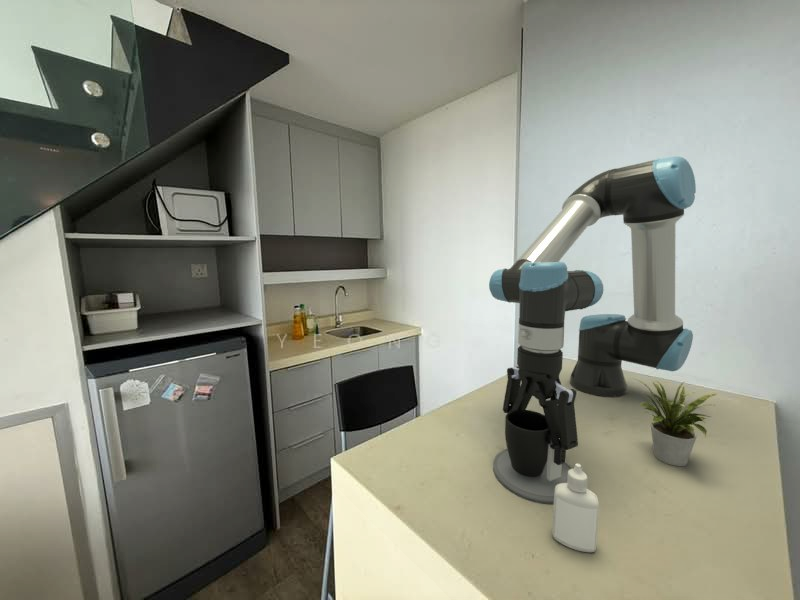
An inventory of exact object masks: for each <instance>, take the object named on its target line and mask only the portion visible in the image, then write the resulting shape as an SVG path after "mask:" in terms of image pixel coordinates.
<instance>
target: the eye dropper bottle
mask: <svg viewBox="0 0 800 600" xmlns="http://www.w3.org/2000/svg"><path fill="white" fill-rule="evenodd" d="M587 486H588V475H587V473H586V472H584V471H583V470H582V465H581V464H580V463H575V465H574V467H573V468H572V469H570V470H569V471H568V479H567V483H560V484H557V485H556V486H555V492H554V504H553V510H552V512H553V513H552V528H551V529H552V534H551V535H552V537H553V538H554V539H555V540H556V541H557V543H558V542H559V544H561V545H564V546H565V547H567V548H570V549H572V550H575V551H579V552H583V553H584V552H585V553H594V552H596V549H597V545H598V544H597V542H598V541H597V540H598V530H599V528H598V527H599V513H600V511H599V510H600V504H599V503H600V502H599V498H598V496H597V494H595V493H594V492H593V491H591V490H590V489H588V487H587Z"/></svg>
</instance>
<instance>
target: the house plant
mask: <svg viewBox="0 0 800 600" xmlns="http://www.w3.org/2000/svg"><path fill="white" fill-rule="evenodd" d="M631 379H632V380H634V381H635V380H636V381H637V382H639V383H641V384H643V385H644V386H645V387H646V388H648V390H649V391H647V394H648V393H649V394H651V395H652V396H653V397H654V399H653V398H651V396H649V395H647V394H645V396H646V398H648V399H650V400H651V402H652V403H653V404H651V403H649V402H642V403H640V404H639V405H640V406H643V407H644V409H645V410H649V411H652V412H653V413H655V415H654V414H653V413H650V415H651V416H652V417H653V418H652V422H650V427H651V429H650V430H651V437H652V439H651V440H652V447H653V454H654V456H655V457H656V458H657V459H658V460H659V461H662V462H663V463H665V464H668V465H672V466H676V467H685V466H687V464H688V462H689V459H690V456H691V455H692V451H693V448H694V445H695V443H696V440H697V433H695V428H694V427H693V426H695V427H696V429H698V430H699V431H700V432H702V433H703V435H704V436H705V437H707V432H708V431H707V429H706V428H705V427H704V426H703V425H701V424H699V422H704V423H706V421H705V420H707V417H708V418H711V416H709V415H706V414H700V413H692V412H694V411H695V410H697V409H699V408H700V407H705V406H706V404H705V405H702V404H703V403H705V402H706V401H707V400H708V399H709V398H712V397H714V396H716V395H717V393H710V394H706V395H703V396H701V397H698V398H697V399H695V400H694V401H693V400H692V402H691V403H689V404H688V405H687V406H686V405H684V402H685V400H686V397H687V396H689V395H691V394H695V393H696V391H694V392H691V393H687V394H686V390H685V387H684V386H683V385H684V383H685V381H683V382H682V383H680V385H679V386H678V387H677V390H676V391H675V396H674V398H673V400H670V401H668V398H667V395H666V394H667V393H666V390H665V388H664V386H663V385H662V383H660V381H658V380H656V379H655V381H652V384H653V386H654V388H656V391H657V393H658V395H657V394H655V393H654V392H653V391H652V390H651V388H650V387H649V386H648V385H647V384H646V383H644V382H643V381H642V380H638V379H636V378H633V377H631ZM656 382H657V383H658V384H657V383H656ZM681 387H682V388H681ZM680 389H681V392H680ZM679 392H680V394H679ZM639 395H643V396H644V394H641V393H640V394H639ZM678 396H679V399H678ZM655 400H656V401H657V403H658V404H657V403H656V401H655ZM677 400H678V402H677ZM699 405H700V406H699ZM658 406H659V407H660V408H661V410H662V411H661V410H660V408H659V407H658ZM708 406H711V403H710V404H708ZM714 406H716V405H715V404H714ZM683 408H685V409H684V410H683V411H682V409H683ZM681 411H682V412H681ZM645 413H647V414H649V412H647V411H645ZM662 413H663V414H662ZM708 420H709V419H708ZM709 421H710V420H709ZM697 422H698V423H697Z"/></svg>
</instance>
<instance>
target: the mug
mask: <svg viewBox="0 0 800 600" xmlns="http://www.w3.org/2000/svg"><path fill="white" fill-rule="evenodd" d="M504 417H505V419H504V435H505V444H506V449H507V450H508V453H509V457H510V460H511V465H512V467H513V469H514V470H515V471H516V472H518V473H519V474H521V475H524V476H528V477H537V476H540V475H541V474H542V473H543V470H544V467H545V465H546V463H547V459H548V446H549V444H551V443H552V440H551V436H550V429H548V425H547V422H546V418H545V414H544V413H543V414H542V413H540V412H538V411H535V410H529V409H526V410H513V411H510V412H509V413H506V415H505V416H504Z"/></svg>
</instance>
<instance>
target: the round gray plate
mask: <svg viewBox="0 0 800 600" xmlns="http://www.w3.org/2000/svg"><path fill="white" fill-rule="evenodd" d="M492 463H493V468H492V469H493V473H494V475H495V477H496V479H497V481H498V483H500V485H502V486H503V488H505V489H506V490H508V491H509V492H511V493H512V494H514V495H516V496H517V497H520V498H522V499H525V500H528V501H530V502H534V503H539V504H547V505H554V492H555V486H556V485H557V484H560V483H567V479H568V471H569V470H570V469H573V468H572V467H571V465H569V464H568V463H567V462H566V461H565V463H564V464H562V468H561V477H559V478H556V479H554V480H551V481H549V480H548V479H547V463H546V465H545V467H544V470H543V473H542V474H541V475H540V476H537V477H528V476H524V475H521V474H519V473H518V472H516V471H515V470H514V469H513V467H512V465H511V460H510V457H509V453H508V450H507V448H506V449H503V450H501V451H499V452H498V453H497V454H496V455H495V457H494V459H493V462H492Z"/></svg>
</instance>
